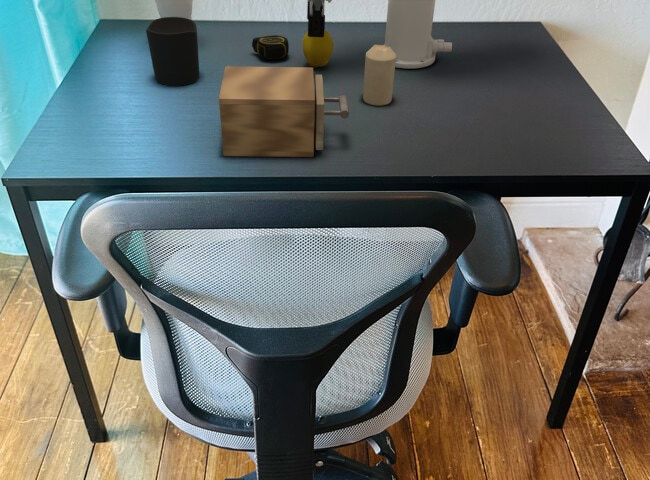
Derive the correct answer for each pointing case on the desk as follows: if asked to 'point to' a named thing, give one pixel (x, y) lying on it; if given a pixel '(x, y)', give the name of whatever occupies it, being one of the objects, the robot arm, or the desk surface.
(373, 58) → the candle
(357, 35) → the desk surface
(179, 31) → the pen holder
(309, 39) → the apple
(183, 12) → the cup
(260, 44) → the tape measure
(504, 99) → the desk surface
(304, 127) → the cabinet
